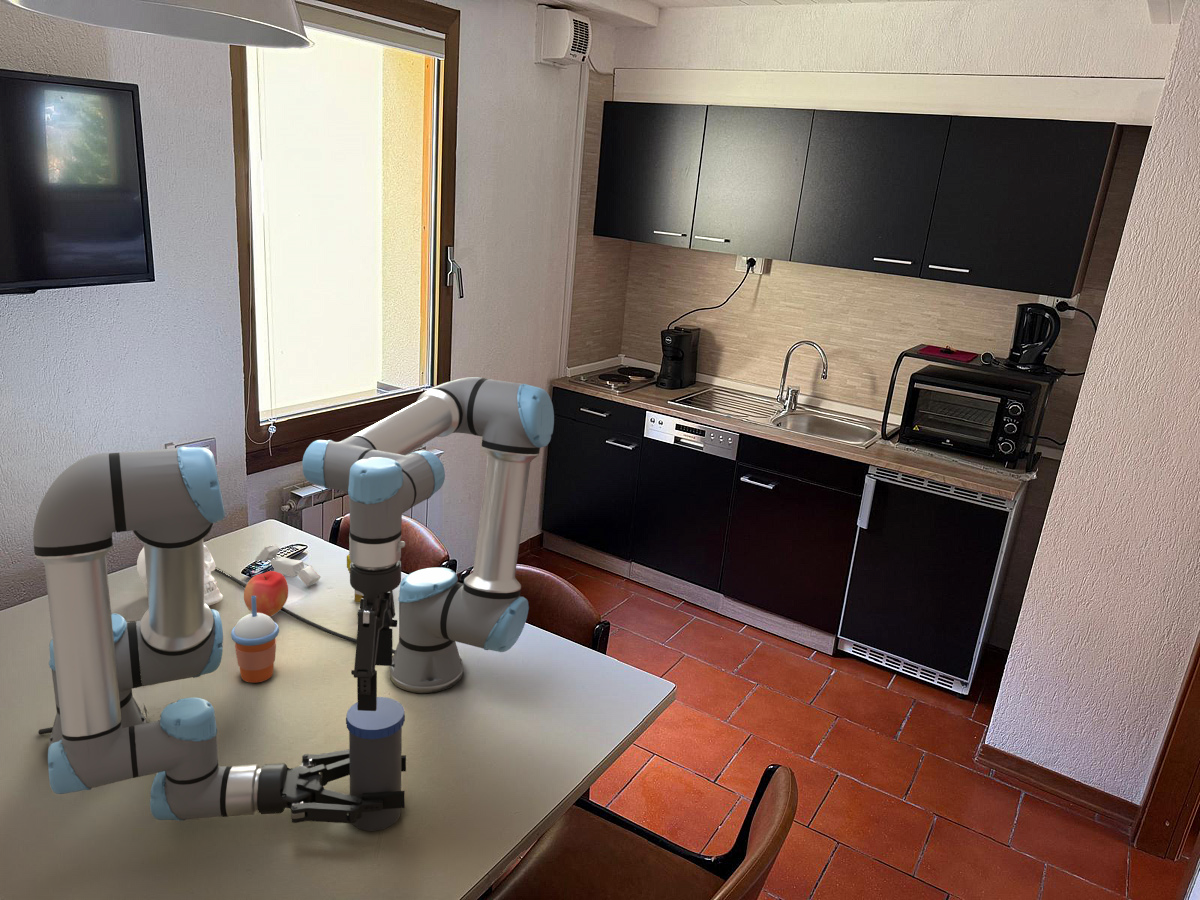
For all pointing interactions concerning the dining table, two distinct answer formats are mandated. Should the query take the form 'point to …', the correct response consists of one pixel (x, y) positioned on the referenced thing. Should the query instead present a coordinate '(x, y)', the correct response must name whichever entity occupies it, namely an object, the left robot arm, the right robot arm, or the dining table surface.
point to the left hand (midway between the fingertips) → (405, 780)
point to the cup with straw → (255, 645)
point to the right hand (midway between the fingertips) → (375, 686)
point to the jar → (375, 775)
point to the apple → (267, 592)
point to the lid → (376, 719)
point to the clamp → (288, 565)
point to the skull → (209, 581)
